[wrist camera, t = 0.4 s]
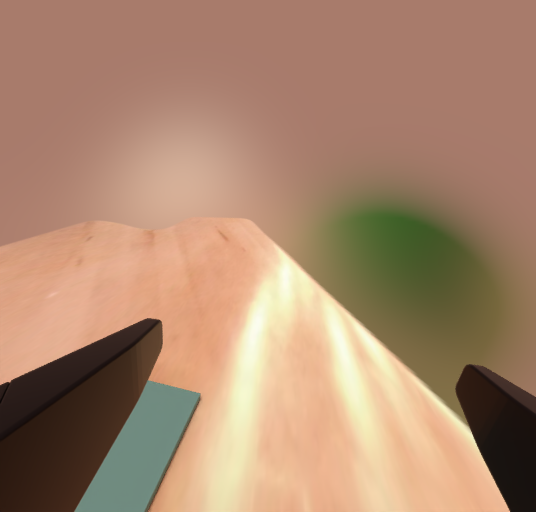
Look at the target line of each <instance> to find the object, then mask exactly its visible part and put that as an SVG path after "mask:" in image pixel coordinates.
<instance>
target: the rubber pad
mask: <svg viewBox="0 0 536 512" xmlns="http://www.w3.org/2000/svg"><path fill="white" fill-rule="evenodd" d="M199 400H200V393H196V392H192V391H188V390H184V389H180V388H176V387H172V386H168V385H164V384H160V383H156V382H152V381H147V383H146V385H145V388H144V390H143V392H142V394H141V396H140V398H139V400H138V402H137V404H136V406H135V408H134V409H133V411H132V413H131V414H130V416H129V418H128V420H127V421H126V423H125V425H124V427H123V428H122V430H121V432H120V433H119V435H118V437H117V439H116V440H115V442H114V444H113V446H112V447H111V449H110V451H109V453H108V454H107V456H106V458H105V459H104V461H103V463H102V465H101V466H100V468H99V470H98V472H97V473H96V475H95V477H94V478H93V480H92V482H91V484H90V485H89V487H88V489H87V491H86V492H85V494H84V496H83V498H82V499H81V501H80V503H79V504H78V506H77V508H76V510H75V511H74V512H147V511H148V509H149V507H150V505H151V503H152V500H153V498H154V496H155V494H156V492H157V490H158V488H159V485H160V483H161V481H162V479H163V477H164V475H165V473H166V471H167V468H168V466H169V464H170V462H171V460H172V458H173V456H174V453H175V451H176V449H177V447H178V445H179V443H180V441H181V439H182V436H183V434H184V432H185V430H186V428H187V426H188V424H189V421H190V419H191V417H192V415H193V413H194V411H195V409H196V406H197V404H198V402H199Z"/></svg>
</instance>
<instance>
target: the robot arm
mask: <svg viewBox="0 0 536 512" xmlns="http://www.w3.org/2000/svg"><path fill="white" fill-rule="evenodd" d="M162 344H163V333H162V322H161V321H160V320H158V319H151V318H147V319H144V320H142V321H140V322H138V323H136V324H133V325H131V326H129V327H127V328H125V329H122V330H120V331H118V332H116V333H114V334H111V335H109V336H107V337H105V338H103V339H101V340H98V341H96V342H94V343H92V344H90V345H87V346H85V347H83V348H81V349H79V350H76V351H74V352H72V353H70V354H68V355H65V356H63V357H61V358H59V359H57V360H55V361H52V362H50V363H48V364H46V365H44V366H41V367H39V368H37V369H35V370H33V371H30V372H28V373H26V374H24V375H22V376H19V377H17V378H15V379H13V380H11V382H6V383H4V384H2V385H0V512H74V511H75V510H76V508H77V506H78V504H79V503H80V501H81V499H82V498H83V496H84V494H85V492H86V491H87V489H88V487H89V485H90V484H91V482H92V480H93V478H94V477H95V475H96V473H97V472H98V470H99V468H100V466H101V465H102V463H103V461H104V459H105V458H106V456H107V454H108V453H109V451H110V449H111V447H112V446H113V444H114V442H115V440H116V439H117V437H118V435H119V433H120V432H121V430H122V428H123V427H124V425H125V423H126V421H127V420H128V418H129V416H130V414H131V413H132V411H133V409H134V408H135V406H136V404H137V402H138V400H139V398H140V396H141V394H142V392H143V390H144V388H145V385H146V383H147V381H148V379H149V376H150V374H151V372H152V370H153V367H154V365H155V363H156V361H157V358H158V356H159V354H160V352H161V349H162ZM455 389H456V395H457V397H458V400H459V402H460V405H461V407H462V409H463V412H464V415H465V417H466V419H467V422H468V424H469V427H470V429H471V432H472V434H473V437H474V439H475V442H476V444H477V446H478V448H479V451H480V453H481V455H482V457H483V459H484V461H485V463H486V465H487V467H488V469H489V471H490V473H491V475H492V477H493V479H494V481H495V483H496V485H497V487H498V489H499V491H500V492H501V494H502V496H503V498H504V500H505V502H506V504H507V506H508V508H509V510H510V512H536V397H535V396H533V395H531V394H529V393H528V392H526V391H524V390H523V389H521V388H519V387H518V386H516V385H514V384H513V383H511V382H509V381H508V380H506V379H504V378H503V377H501V376H499V375H497V374H496V373H494V372H492V371H491V370H489V369H487V368H485V367H483V366H479V365H472V364H469V365H466V366H465V367H464V369H463V371H462V373H461V375H460V378H459V380H458V382H457V384H456V388H455Z"/></svg>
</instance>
